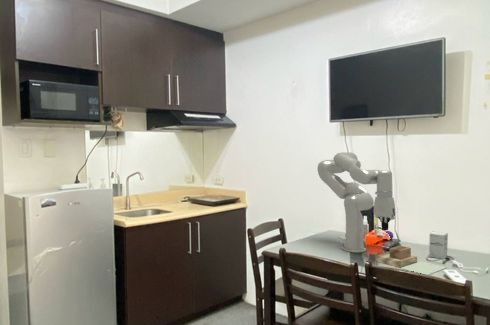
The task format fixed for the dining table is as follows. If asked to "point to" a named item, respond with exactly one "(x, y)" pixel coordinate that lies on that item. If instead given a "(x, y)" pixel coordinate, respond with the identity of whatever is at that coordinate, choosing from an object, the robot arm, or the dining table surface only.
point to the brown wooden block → (400, 252)
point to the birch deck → (395, 260)
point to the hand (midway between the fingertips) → (384, 229)
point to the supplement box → (438, 245)
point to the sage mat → (423, 268)
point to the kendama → (390, 234)
